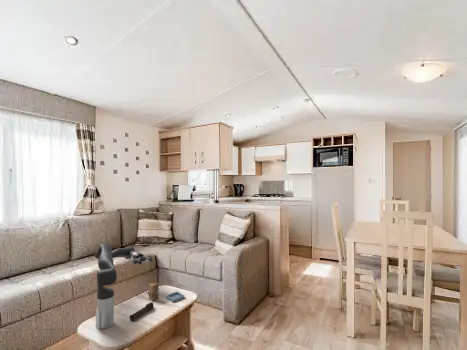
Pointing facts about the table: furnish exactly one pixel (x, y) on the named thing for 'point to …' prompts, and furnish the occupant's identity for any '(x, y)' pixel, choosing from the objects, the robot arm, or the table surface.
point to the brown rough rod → (141, 311)
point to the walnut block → (153, 291)
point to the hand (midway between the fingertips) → (146, 261)
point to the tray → (175, 296)
